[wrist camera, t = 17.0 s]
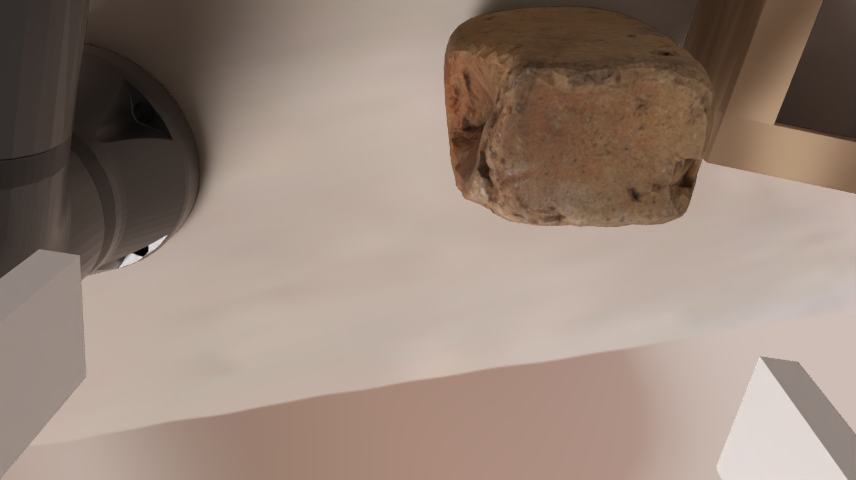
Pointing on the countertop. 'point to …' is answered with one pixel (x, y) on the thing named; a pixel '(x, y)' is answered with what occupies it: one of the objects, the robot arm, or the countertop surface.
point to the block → (575, 117)
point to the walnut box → (764, 91)
